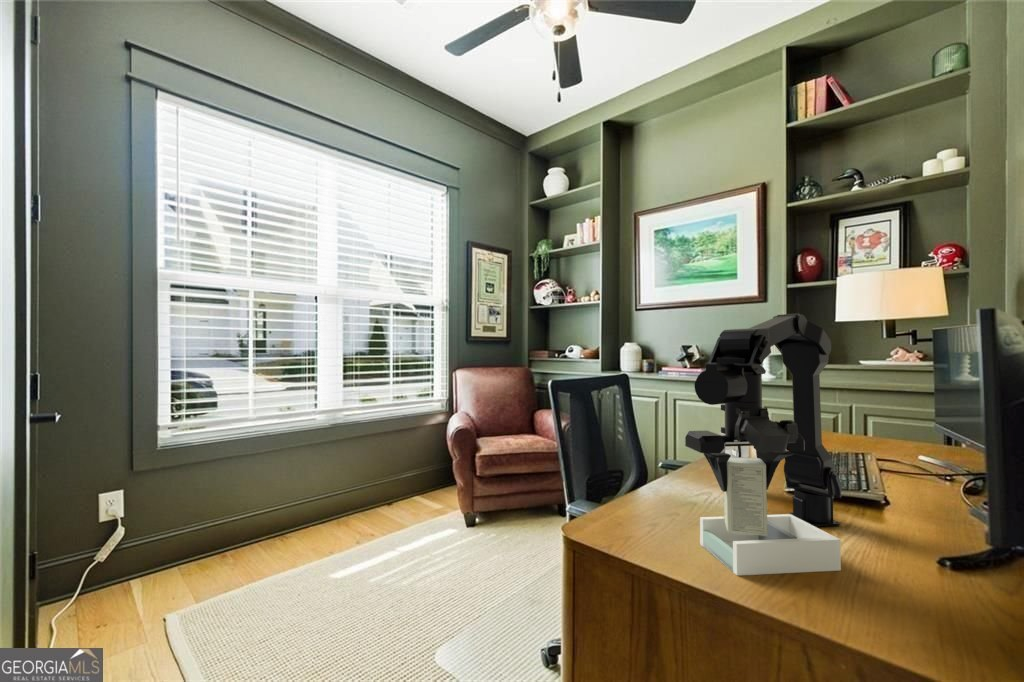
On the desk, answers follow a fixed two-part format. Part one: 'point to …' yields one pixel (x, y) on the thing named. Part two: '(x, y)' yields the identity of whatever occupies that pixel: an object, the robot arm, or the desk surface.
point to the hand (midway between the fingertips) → (744, 490)
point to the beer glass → (736, 450)
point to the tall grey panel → (776, 533)
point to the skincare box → (746, 496)
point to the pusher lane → (772, 547)
